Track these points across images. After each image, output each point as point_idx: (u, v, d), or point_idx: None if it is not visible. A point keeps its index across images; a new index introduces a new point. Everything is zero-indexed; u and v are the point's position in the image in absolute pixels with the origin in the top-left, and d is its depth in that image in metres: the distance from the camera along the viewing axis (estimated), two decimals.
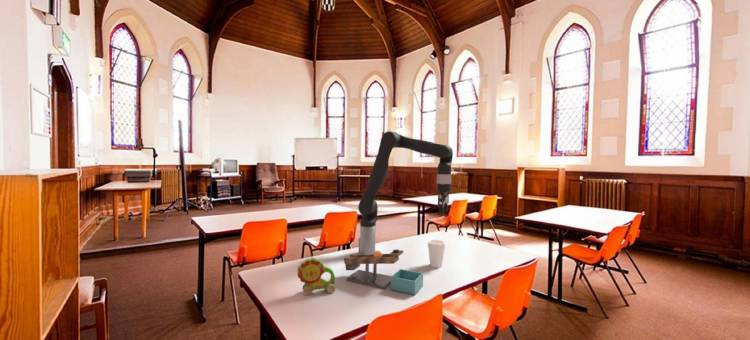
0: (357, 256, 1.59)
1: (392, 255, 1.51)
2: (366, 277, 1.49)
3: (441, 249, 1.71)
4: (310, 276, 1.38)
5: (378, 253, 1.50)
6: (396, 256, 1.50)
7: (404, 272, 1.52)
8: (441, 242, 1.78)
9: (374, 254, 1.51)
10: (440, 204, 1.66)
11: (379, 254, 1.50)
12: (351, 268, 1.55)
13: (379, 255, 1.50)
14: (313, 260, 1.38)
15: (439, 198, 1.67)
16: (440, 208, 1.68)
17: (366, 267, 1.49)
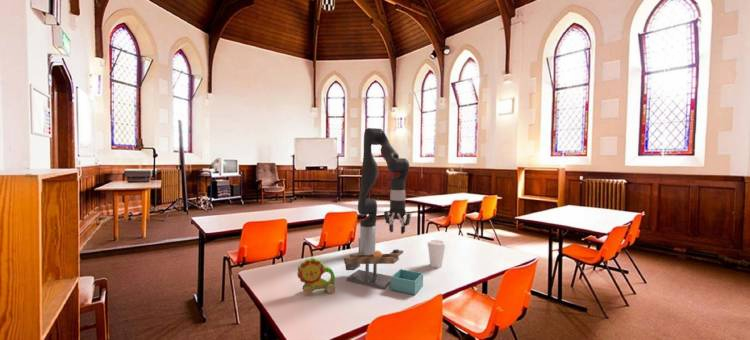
0: (357, 256, 1.59)
1: (392, 255, 1.51)
2: (366, 277, 1.49)
3: (441, 249, 1.71)
4: (310, 276, 1.38)
5: (378, 253, 1.50)
6: (396, 256, 1.50)
7: (404, 272, 1.52)
8: (441, 242, 1.78)
9: (374, 254, 1.51)
10: (407, 223, 1.58)
11: (379, 254, 1.50)
12: (351, 268, 1.55)
13: (379, 255, 1.50)
14: (313, 260, 1.38)
15: (409, 217, 1.56)
16: (404, 227, 1.58)
17: (366, 267, 1.49)
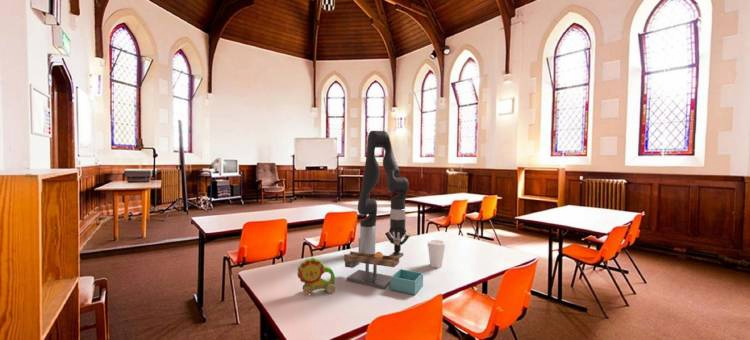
0: (357, 254, 1.59)
1: (393, 258, 1.51)
2: (366, 277, 1.49)
3: (441, 249, 1.71)
4: (310, 276, 1.38)
5: (379, 254, 1.50)
6: (397, 259, 1.50)
7: (404, 272, 1.52)
8: (441, 242, 1.78)
9: (375, 255, 1.50)
10: None
11: (380, 256, 1.50)
12: (350, 265, 1.55)
13: (380, 257, 1.50)
14: (313, 260, 1.38)
15: None
16: (399, 246, 1.60)
17: (366, 267, 1.49)
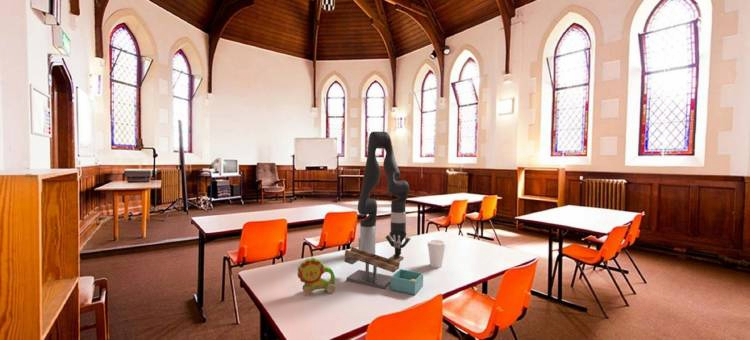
0: (358, 251, 1.59)
1: (393, 262, 1.51)
2: (366, 277, 1.49)
3: (441, 249, 1.71)
4: (310, 276, 1.38)
5: None
6: (397, 264, 1.50)
7: (404, 272, 1.52)
8: (441, 242, 1.78)
9: None
10: None
11: None
12: (350, 262, 1.55)
13: None
14: (313, 260, 1.38)
15: (407, 242, 1.57)
16: (400, 249, 1.59)
17: (366, 267, 1.49)
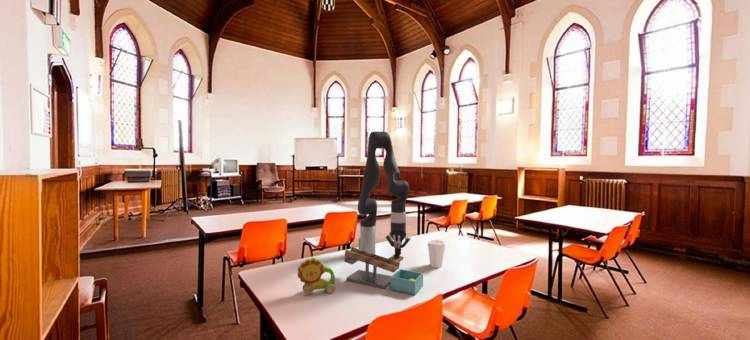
0: (358, 251, 1.59)
1: (393, 262, 1.51)
2: (366, 277, 1.49)
3: (441, 249, 1.71)
4: (310, 276, 1.38)
5: None
6: (397, 264, 1.50)
7: (404, 272, 1.52)
8: (441, 242, 1.78)
9: None
10: None
11: None
12: (350, 262, 1.55)
13: None
14: (313, 260, 1.38)
15: (407, 242, 1.57)
16: (400, 249, 1.59)
17: (366, 267, 1.49)
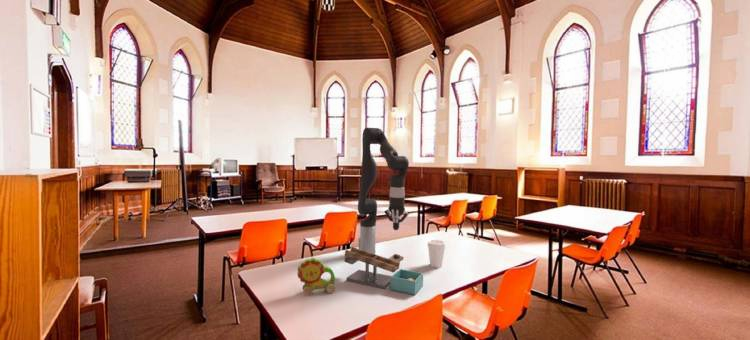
0: (358, 251, 1.59)
1: (393, 262, 1.51)
2: (366, 277, 1.49)
3: (441, 249, 1.71)
4: (310, 276, 1.38)
5: None
6: (397, 264, 1.50)
7: (404, 272, 1.52)
8: (441, 242, 1.78)
9: None
10: None
11: None
12: (350, 262, 1.55)
13: None
14: (313, 260, 1.38)
15: (405, 216, 1.60)
16: None
17: (366, 267, 1.49)
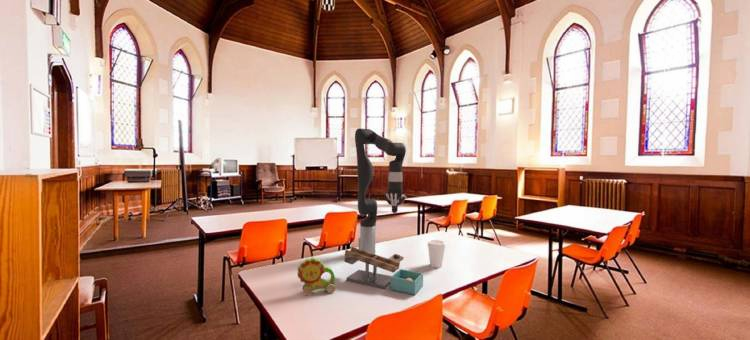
0: (358, 251, 1.59)
1: (393, 262, 1.51)
2: (366, 277, 1.49)
3: (441, 249, 1.71)
4: (310, 276, 1.38)
5: None
6: (397, 264, 1.50)
7: (404, 272, 1.52)
8: (441, 242, 1.78)
9: None
10: None
11: None
12: (350, 262, 1.55)
13: None
14: (313, 260, 1.38)
15: (403, 199, 1.69)
16: (396, 207, 1.71)
17: (366, 267, 1.49)
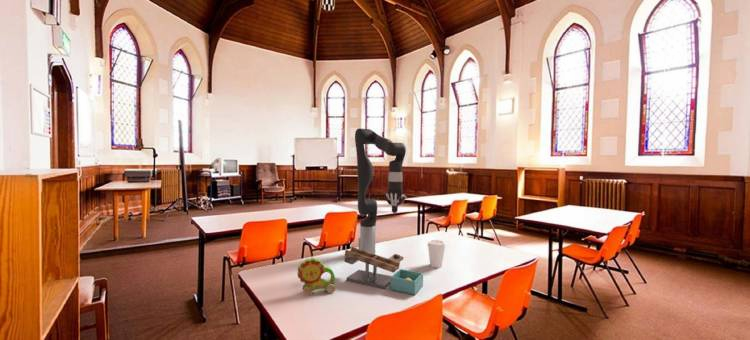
0: (358, 251, 1.59)
1: (393, 262, 1.51)
2: (366, 277, 1.49)
3: (441, 249, 1.71)
4: (310, 276, 1.38)
5: None
6: (397, 264, 1.50)
7: (404, 272, 1.52)
8: (441, 242, 1.78)
9: None
10: None
11: None
12: (350, 262, 1.55)
13: None
14: (313, 260, 1.38)
15: (403, 199, 1.69)
16: (396, 207, 1.71)
17: (366, 267, 1.49)
